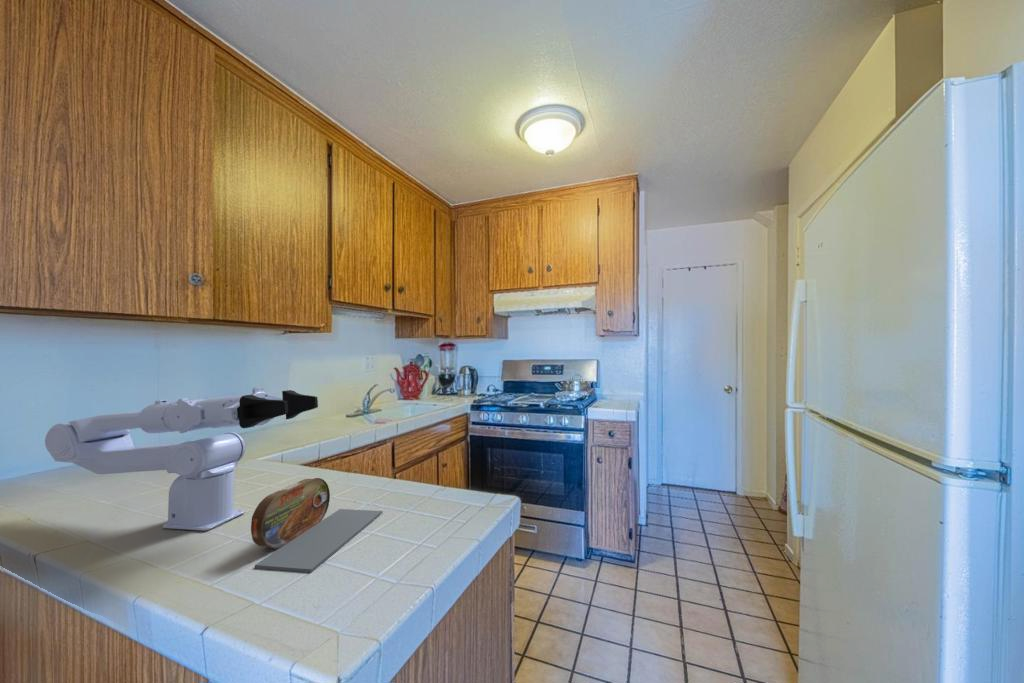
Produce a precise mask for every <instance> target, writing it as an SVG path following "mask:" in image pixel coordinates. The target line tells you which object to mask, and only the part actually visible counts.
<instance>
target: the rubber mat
mask: <svg viewBox="0 0 1024 683" xmlns="http://www.w3.org/2000/svg"><path fill="white" fill-rule="evenodd" d="M381 513H382V514H383V510H370V509H369V510H368V509H366V510H365V509H347V508H346V509H344V508H339V509H338V510H336V511H334V512H333V513H331V514H330V515H328V516H327V517H325V518H323V519H322V520H321V522H319V523H318V524H316V525H315V526H313V527H312V528H310V529H309V530H307V531H306V532H304V533H303V534H301V535H300V536H298V537H297V538H295V539H293V540H292V541H290V542H289V543H287V544H286V545H284V546H283V547H281V548H277V549H276V550H274V551H273V552H272V553H271V554H269V555H268V556H266V557H264V558H263V559H262V560H260V561H259V562H257V563H255V564H254V569H262V570H263V569H264V570H277V571H279V570H280V571H290V572H302V573H303V572H304V573H312V572H314V571H315V570H316V569H317V568H319V567H320V566H321V565H322V564H323V563H324V562H326V561H327V560H328V559H329V558H330V557H332V556H333V555H334V554H335V553H336V552H338V551H339V550H340V549H341V548H342V547H344V546H345V545H346V544H347V543H349V542H350V541H351V540H352V539H353V538H355V537H356V536H357V535H358V534H359V533H361V532H362V531H363V530H364V529H365V528H366V527H368V526H369V525H370V524H372V523H373V520H374V519H375V518H376V519H377V518H379V517H380V516H381V515H382V514H381ZM380 514H381V515H380ZM379 515H380V516H379ZM376 519H375V520H376ZM375 520H374V521H375Z"/></svg>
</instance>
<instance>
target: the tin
mask: <svg viewBox="0 0 1024 683" xmlns="http://www.w3.org/2000/svg"><path fill="white" fill-rule="evenodd" d="M330 492H331V491H330V488H329V485H328V483H327V482H326V481H325V480H324V479H323V478H321V477H315V478H305V479H302V480H300V481H297V482H295V483H293V484H290V485H288V486H286V487H284V488H281V489H279V490H277V491H275V492H273V493H270V494H268V495H267V496H265V497H264V498H262V500H261V501H260V502H259V504H258V505H257V506H256V508H255V510H254V511H253V513H252V516H251V520H250V521H251V526H250V532H251V539H252V541H253V543H254V544H255V545H257V546H258V547H261V548H268V549H269V548H271V549H280V548H281V547H283V546H284V545H286V544H287V543H289V542H290V541H292V540H293V539H295V538H297V537H298V536H300V535H301V534H303V533H304V532H306V531H307V530H309V529H310V528H312V527H313V526H315V525H316V524H318V523H319V522H321V521H322V520H324V519H325V518H324V517H325V516H326V515H327V512H328V510H329V506H330V500H331V499H330V498H331V493H330Z"/></svg>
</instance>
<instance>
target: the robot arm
mask: <svg viewBox="0 0 1024 683" xmlns="http://www.w3.org/2000/svg"><path fill="white" fill-rule="evenodd" d="M281 393H282V397H279V396H276V395H273V394H271V393H268V392H265V388H264V387H263V386H258V387H253V388H252V389H251V393H249V394H239V395H229V396H220V397H217V396H216V397H213V398H209V397H205V398H201V399H200V398H198V399H191V400H189V398H185V397H184V398H178V399H177V401H170V402H169V400H168V399H158V400H155V401H154V403H151V404H149V405H147V406H145V407H144V408H143V409H142V410H141V411H129V412H117V413H109V414H108V413H107V414H99V415H94V416H89V417H85V418H80V419H73V420H71V421H68V423H66V422H65V423H63V422H61V423H56V424H54V425H53V426H52V427H51V428H49V430H48V431H47V433H46V434H45V437H44V438H45V439H44V444H45V449H46V450H47V452H48V453H49V454H50V456H51V457H52V458H53V460H54V461H55V462H60V463H61V462H62V463H71V464H74V465H76V466H78V467H82V468H83V469H85V470H88V471H89V472H92V473H94V474H96V475H108V474H109V475H110V474H111V475H112V474H123V473H125V474H126V473H135V472H136V473H138V472H139V473H141V472H153V471H166V472H167V473H168V474H176V475H179V476H177V477H176V478H175V479H174V480H173V482H172V483H171V485H170V487H169V490H168V505H167V506H168V507H167V523H165V524H162V528H163V529H173V530H190V531H191V530H192V531H210V530H211V529H214V528H216V527H218V526H219V525H222V524H224V523H226V522H229V521H231V520H233V519H235V518H236V517H238V516H241V515H243V514H245V513H246V510H245V509H234V500H235V499H234V497H235V493H234V492H235V491H234V489H235V469H236V468H238V465H239V464H238V463H239V462H240V461H241V460H242V459H243V458H244V455H245V452H246V445H245V444H246V443H245V441H244V439H243V437H242V436H241V435H240V434H239V433H237V432H234V431H230V432H226V433H225V432H224V433H223V434H220V435H219V434H218V435H215V436H210V437H205V438H201V439H196V440H188V441H184V442H175V443H163V444H162V443H161V444H150V445H147V444H146V445H138V446H137V445H136V446H135V445H134V442H133V439H132V436H131V430H133V429H134V430H136V429H140V430H142V431H143V432H145V433H147V434H163V433H173V432H179V434H184V433H187V432H191V431H196V430H202V429H206V428H207V429H208V428H209V429H211V428H212V429H219V428H220V429H221V428H230V427H232V428H233V427H240V428H241V429H248V428H249V429H250V428H253V427H255V426H263V425H266V424H268V423H269V422H270V421H272V420H273V419H275V418H277V417H281V416H284V415H285V420H291V419H294V418H296V417H297V416H299V415H300V414H302V413H304V412H308V411H311V410H314V409H317V408H318V407H319V402H318V401H319V400H318V396H315V395H306V394H302V393H298V392H296V391H295V390H292V389H289V390H287V389H286V390H282V391H281Z"/></svg>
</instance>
